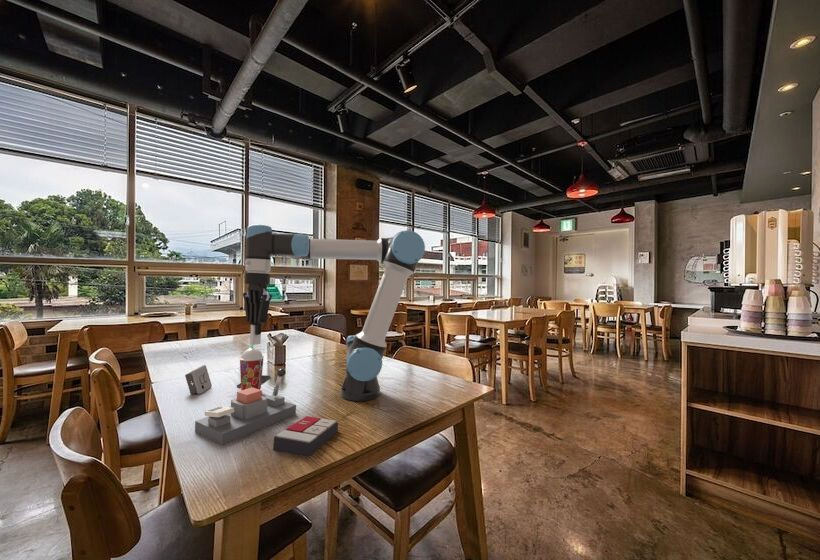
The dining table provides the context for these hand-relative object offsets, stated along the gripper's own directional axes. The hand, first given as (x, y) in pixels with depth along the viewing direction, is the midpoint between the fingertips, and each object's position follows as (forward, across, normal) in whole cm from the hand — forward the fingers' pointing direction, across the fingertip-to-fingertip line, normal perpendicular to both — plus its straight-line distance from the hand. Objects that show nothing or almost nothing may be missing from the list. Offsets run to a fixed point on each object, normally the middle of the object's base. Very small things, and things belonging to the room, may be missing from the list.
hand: (255, 344), depth 107 cm
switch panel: (+23, +5, -4) cm, 24 cm away
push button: (+17, +5, -4) cm, 18 cm away
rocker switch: (+17, +6, -13) cm, 23 cm away
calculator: (+23, +28, -1) cm, 37 cm away
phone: (+23, -29, +18) cm, 42 cm away
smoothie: (+23, -18, +10) cm, 31 cm away
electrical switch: (+23, -36, -1) cm, 43 cm away
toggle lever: (+17, +5, +5) cm, 18 cm away
